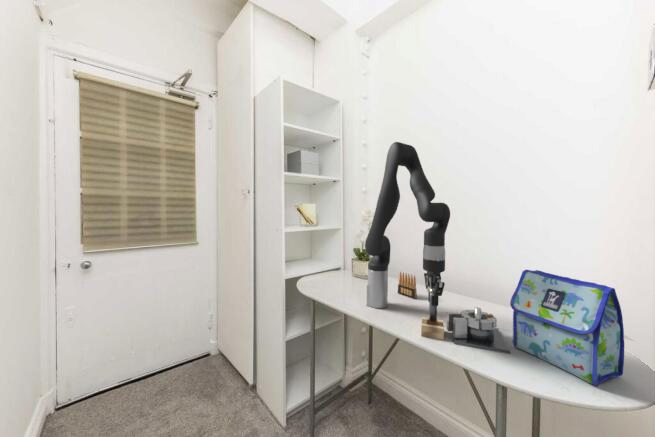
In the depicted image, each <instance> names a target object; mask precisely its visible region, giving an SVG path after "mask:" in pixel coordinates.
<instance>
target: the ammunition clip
mask: <svg viewBox="0 0 655 437" xmlns="http://www.w3.org/2000/svg"><path fill="white" fill-rule="evenodd" d="M398 274H399V276H398V277H399V278H398V285H397V294H398V293H399V294H398V295H401V296H404V297H407V298H409V299H412V300H416V299H417V297H418V296H417V293H418V292H417V281H416V280H417V279H416V276H415V274H414V275H413V274H410V273H408V274H407V273H405V272H402V271H400V272H399V273H398Z"/></svg>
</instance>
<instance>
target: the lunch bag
mask: <svg viewBox="0 0 655 437" xmlns="http://www.w3.org/2000/svg"><path fill="white" fill-rule="evenodd" d="M509 301H510V302H509V303H510V304H509V305H510V307H511V309H512V310H513V313H512V333H513V334H512V346H513V347H514V348H517V349H519V350H520V351H523V352H526V353H528V354H529V355H532V356H535V357H537V358H539V359H541V360H543V361H546V362H548V363H549V364H551V365H554V366H555V367H558V368H559V369H562V370H563V371H566V372H568V373H570V374H572V375H574V376H575V377H578V378H580V379H581V380H583V381H585V382H587V383H589V384H591V385H594V386H596V387H599V384H601V383H603V382H605V381H606V380H607V381H608V380H609V379H610V378H619V377H622V376H623V374H624V363H625V362H624V361H625V335H624V334H625V333H624V321H623V319H624V318H623V313H622V312H623V311H622V308H621V304H620V302H619V298H618V295H617V292H616V289H615V288H614V287H611V286H607V285H606V284H605V285H604V284H598V283H596V282H591V281H586V280H585V281H583V280H580V279H576V278H575V279H574V278H571V277H567V276H561V275H558V274H553V273H549V272H545V271H542V270H538V269H537V270H536V269H535V270H531V269H524V270H522V272H521V275H520V278H519V281H518V283H517V285H516V288H515V290H514V291H513V294H512V296H511V298H510V300H509Z"/></svg>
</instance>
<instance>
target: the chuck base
mask: <svg viewBox="0 0 655 437" xmlns="http://www.w3.org/2000/svg"><path fill="white" fill-rule="evenodd" d="M474 310H475V319H479V320H481V311H482V308H481V307H474ZM451 332H452V334H453V331H451ZM452 337H453V338H452V339H453V344H454V345H459V346H465V347H470V348H476V349H481V350H487V351H493V352H497V353H504V354H511V349H510V347H509V346H508V344H507V342H506V340H505V338H504V336H503V335H502V333H501V331H500V330H499V328H497V327H496V328H495V329H492V330H481V329H475V328H472V327H469V326H467V338H455V337H454V336H453V335H452Z"/></svg>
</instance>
